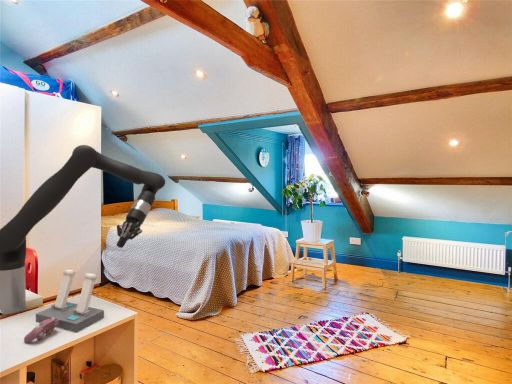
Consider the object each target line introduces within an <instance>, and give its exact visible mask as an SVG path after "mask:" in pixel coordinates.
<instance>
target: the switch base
mask: <svg viewBox="0 0 512 384" xmlns="http://www.w3.org/2000/svg"><path fill="white" fill-rule="evenodd" d="M77 306H78V303H75V302H69V301H67V302H66V305H65V306H64V307H62V309H59V308H55V303H52V304H51V307H48V308H45V309H43V310H40V311H39V312H37V313H35V322H36V323H38V324H40V323H41V322H42V321H44V320H46V319H51V318H52V317H54V318H56V319H58V320H60V322H59V324H58V325H57V327H56V328H58V329H62V330H65V331H66V330H67V331H70V332H73V333H78V332H80V331H81V330H84V329H85V328H88V327H90V326H91V325H93V324H96V323H97V322H99V321H101V320H103V319H104V318H105V310H104V309H100V308H96V307H91V306H88V310H87V311H86V312H84V314H80V313H76V309H77Z"/></svg>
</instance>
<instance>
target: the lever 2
mask: <svg viewBox="0 0 512 384" xmlns="http://www.w3.org/2000/svg"><path fill="white" fill-rule="evenodd" d="M97 278H98V275H97V274H96V273H92V272H91V273H90V272H86V273H85V274H84V281H83V284H82V288H81V292H80V295H79V299H78V303H77V304H78V306H77V309H76V313H80V314H84V312H86V311H87V310H88V307H90V305H89V304H90V302H91V298H92V294H93V290H94V286H95V283H96V280H97Z"/></svg>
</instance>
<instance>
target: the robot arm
mask: <svg viewBox="0 0 512 384" xmlns="http://www.w3.org/2000/svg"><path fill="white" fill-rule="evenodd" d="M91 168H93V169H97V170H101V171H103V172H106V173H107V174H111V175H113V176H115V177H117V178H119V179H121V180H123V181H126V182H129V183H131V184H134V185H141V184H142V185H143V186H142V189H141V191H140V193H139V195H138V196H137V198H136V200H135V202H134V203H133V204H132V205H131V208H130V209H129V210H128V212H127V214H126V216H125V221H123V223H122V224H121V225H120V224H117V225H116V233H117V236H118V237H119V239H118V241H117V242H116V247H118V248H120V249H122V248H123V247H125V245H126V243H127V241H129V240H133V239H135V238H136V237H138V236H139V235H140V234H142V233H143V230H142V229H141V226H142V225H143V223H144V221H145V220H146V219H147V216H148V214H149V212H150V210H151V208H152V206H153V204H154V202H155V200H156V194H157V193H158V191H159V190H161V189H163V187H165V184H166V180H165V177H163V176H162V175H161V174H159V173H156V172H153V171H148V170H143V169H141V168H138V167H135V166H133V165H130V164H127V163H125V162H122V161H119V160H116V159H113V158H110V157H109V156H106V155H104V154H102V153H101V152H99V151H97V150H96V149H95V148H93V147H92V146H89V145H87V144H81V145H77V146H76V147H75V148H73V150H72V153H71V156H70V157H69V158H68V160H67V161H66V162H65V164H64V165H63V166H62V167H61V168H60V169H58V171H56V172H55V173H53V175H51V176H49V178H47V179H46V180H45V181H44V182H43V183H42V184H41V185H40V186H39V187H38V188H37V189H36V190H35V191H33V193H32V195H31V196H30V197H29V198H28V199H27V200H26V202H25V203H24V204H23V205H22V207H21V208H20V210H19V211H18V212H17V214H15V216H13V217H12V219H10V220H9V221H8V222H7V223H6V224H5V225H4V226H3V227H1V228H0V310H1V312H2V315H3V316H4V315H5V316H6V315H11V314H15V313H19V312H21V311H23V310H26V307H27V304H26V301H27V300H26V299H27V296H26V294H27V293H26V292H27V291H26V258H27V235H29V233H30V232H31V230H32V229H33V228H34V227H35V226H36V225H37V224H38V223H40V221H42V220H43V219H44V218H46V216H48V215H49V214H50V213H51V212H52V211H53V210H54V209H55V208H56V207H57V206H58V205H59V204H60V203H61V202H62V200H64V198H65V197H66V195H68V194H69V193H70V191H71V189H72V188H73V186H75V184H76V183H77V182H78V180H79V179H80V178H81V177H82V176H84V175H85V174H86V172H88V171H89V170H91Z"/></svg>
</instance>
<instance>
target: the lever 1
mask: <svg viewBox="0 0 512 384" xmlns="http://www.w3.org/2000/svg"><path fill="white" fill-rule="evenodd" d="M62 274H63V276H62V279H61V282H60V285H59V289H58V293H57V296H56V300H55V303H54V304H55V308H59V309H62V307H64V306H65V305H66V302H68V298H69V297H68V296H69V294H70V291H71V287H72V283H73V279H74V277H75V275H76V270H75V269H68V268H66V269H64V270H63V273H62Z"/></svg>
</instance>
